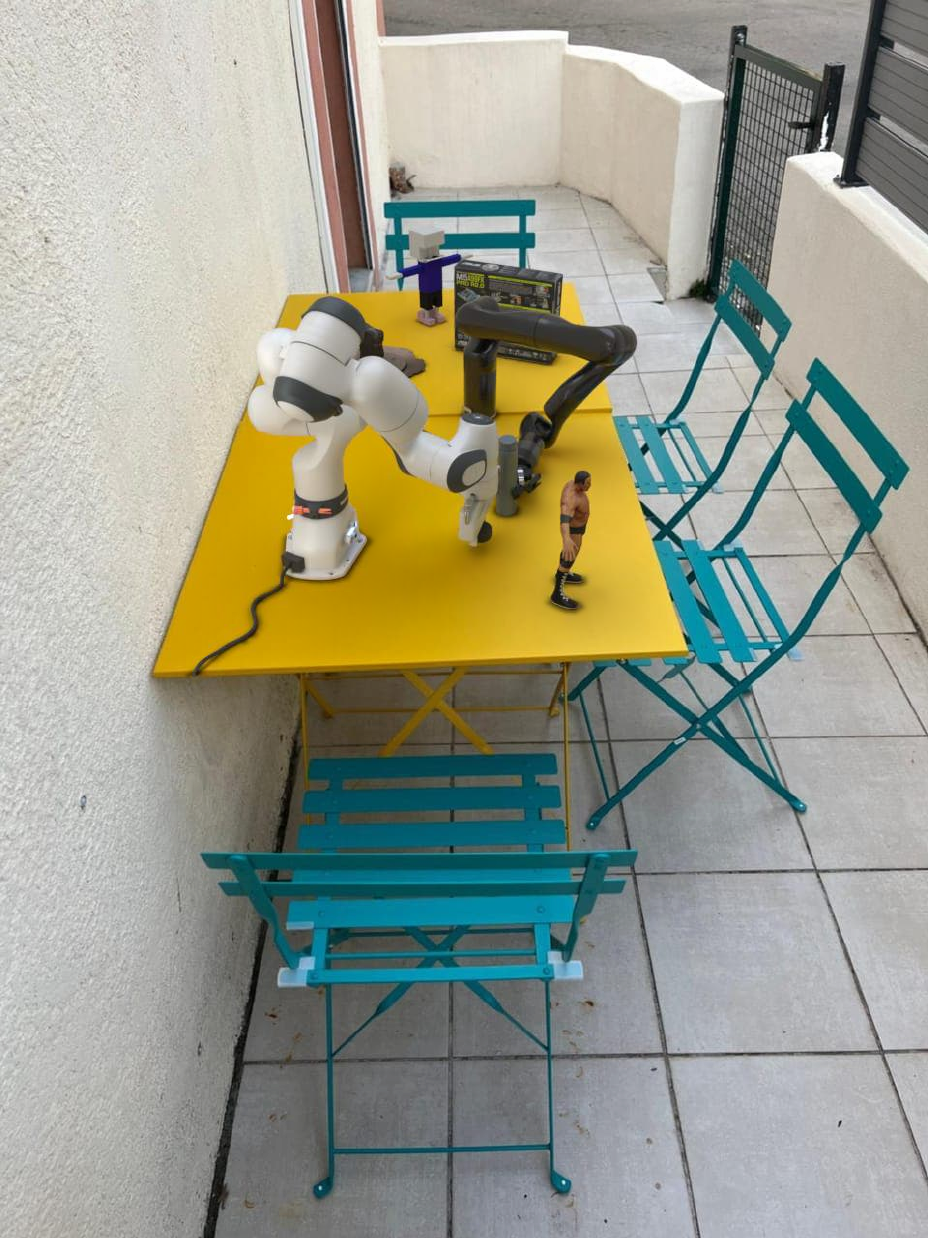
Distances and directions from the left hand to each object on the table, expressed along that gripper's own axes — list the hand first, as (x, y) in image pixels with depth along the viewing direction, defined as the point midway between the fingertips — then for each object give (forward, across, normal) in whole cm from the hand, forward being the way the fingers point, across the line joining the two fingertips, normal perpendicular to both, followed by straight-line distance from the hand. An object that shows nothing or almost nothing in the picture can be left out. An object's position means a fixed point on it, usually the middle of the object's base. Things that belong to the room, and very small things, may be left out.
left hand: (477, 535), depth 202 cm
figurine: (+4, -11, -23) cm, 26 cm away
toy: (+3, +127, +49) cm, 136 cm away
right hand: (-3, +14, -3) cm, 15 cm away
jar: (+3, +17, -3) cm, 17 cm away
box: (+3, +107, +17) cm, 108 cm away
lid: (-2, 0, 0) cm, 2 cm away
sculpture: (+3, +85, +56) cm, 102 cm away
